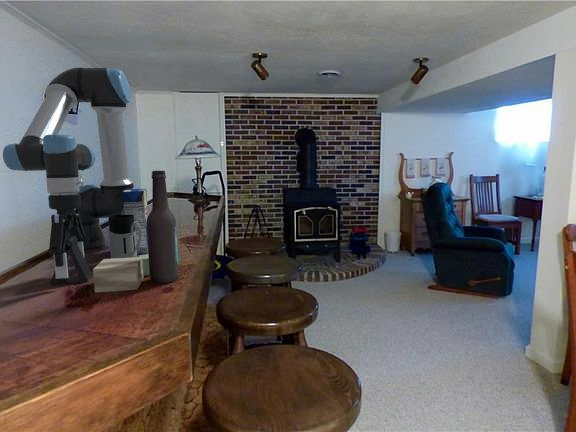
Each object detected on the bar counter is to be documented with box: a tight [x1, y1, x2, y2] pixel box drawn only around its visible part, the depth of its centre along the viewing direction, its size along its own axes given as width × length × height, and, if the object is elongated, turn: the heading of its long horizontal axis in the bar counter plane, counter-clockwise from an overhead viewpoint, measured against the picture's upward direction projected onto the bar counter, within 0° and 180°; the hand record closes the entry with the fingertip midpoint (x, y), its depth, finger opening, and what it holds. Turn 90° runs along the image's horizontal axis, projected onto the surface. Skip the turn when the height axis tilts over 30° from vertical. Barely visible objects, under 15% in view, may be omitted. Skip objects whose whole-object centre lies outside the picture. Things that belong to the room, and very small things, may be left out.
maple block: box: [92, 256, 144, 293], centre depth 102 cm, size 10×10×6 cm
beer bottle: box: [147, 170, 179, 284], centre depth 104 cm, size 8×8×30 cm
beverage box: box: [122, 188, 149, 255], centre depth 138 cm, size 7×11×22 cm, turn 15°
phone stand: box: [50, 236, 93, 286], centre depth 106 cm, size 9×6×12 cm, turn 105°
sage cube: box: [138, 253, 150, 277], centre depth 113 cm, size 5×5×5 cm
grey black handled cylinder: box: [107, 214, 141, 259], centre depth 122 cm, size 9×14×15 cm, turn 55°
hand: (71, 270), depth 106 cm, fingers open, 13 cm apart
